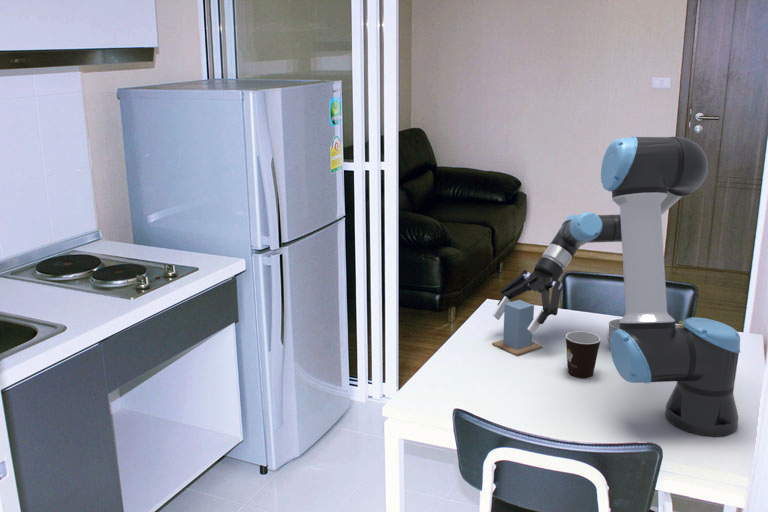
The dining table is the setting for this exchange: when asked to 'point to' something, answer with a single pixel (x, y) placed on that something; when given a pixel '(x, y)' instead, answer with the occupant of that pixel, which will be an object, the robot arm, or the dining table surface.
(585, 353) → the coffee mug
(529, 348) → the square wooden base plate
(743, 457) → the dining table surface
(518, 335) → the pale blue tall brick
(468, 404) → the dining table surface
